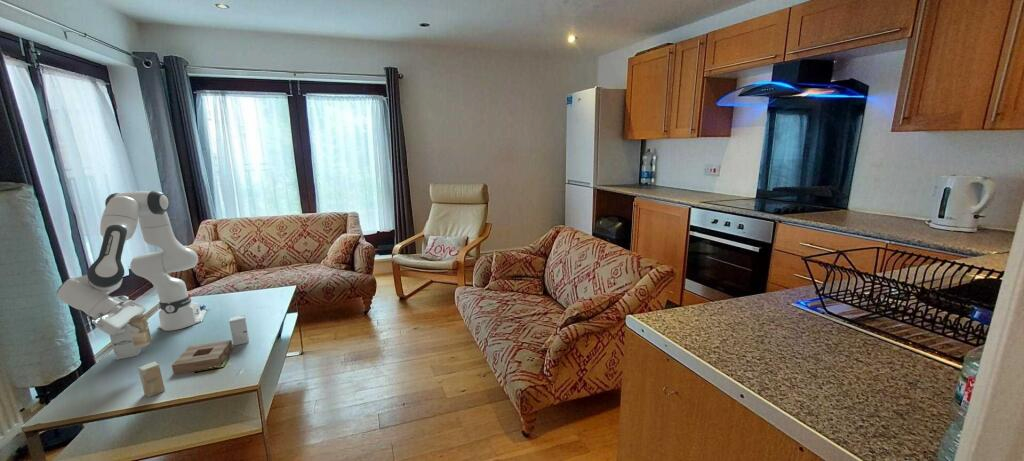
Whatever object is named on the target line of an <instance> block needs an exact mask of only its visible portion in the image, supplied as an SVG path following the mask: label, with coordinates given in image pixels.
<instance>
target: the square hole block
mask: <svg viewBox="0 0 1024 461" xmlns="http://www.w3.org/2000/svg"><path fill="white" fill-rule="evenodd" d="M233 346H234V345H233V339H229V340H223V341H222V340H221V341H216V342H210V343H208V342H207V343H203V344H197V345H189V346H188V347H187V348H186V350H184V351H183V353H181V355H180V356H179V357H178V358H177V359H176V360H175V361H174V362H173V363H172V364H171V368H172V373H173V375H179V374H183V373H189V372H190V373H191V372H197V371H201V370H200V369H203V370H205V369H204V368H209V367H215V366H220V365H222V364H223V363H222V362H224V361H225V360H226V359H227V357H228V356H229V354H230V353H231V352H232V350H233V349H234V347H233ZM225 358H226V359H225ZM224 359H225V360H224ZM223 360H224V361H223ZM221 363H222V364H221ZM220 367H221V366H220ZM215 368H216V367H215ZM209 369H210V368H209ZM196 370H197V371H196Z"/></svg>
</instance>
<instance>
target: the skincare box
mask: <svg viewBox="0 0 1024 461" xmlns="http://www.w3.org/2000/svg"><path fill="white" fill-rule="evenodd" d="M246 320H247V319H246V315H245V314H244V315H238V316H233V317H230V318H229V321H228V323H229V326H230V332H231V340H232V345H233V346H238V345H243V344H247V343H249V340H250V338H249V331H248V325H247V321H246Z"/></svg>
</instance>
